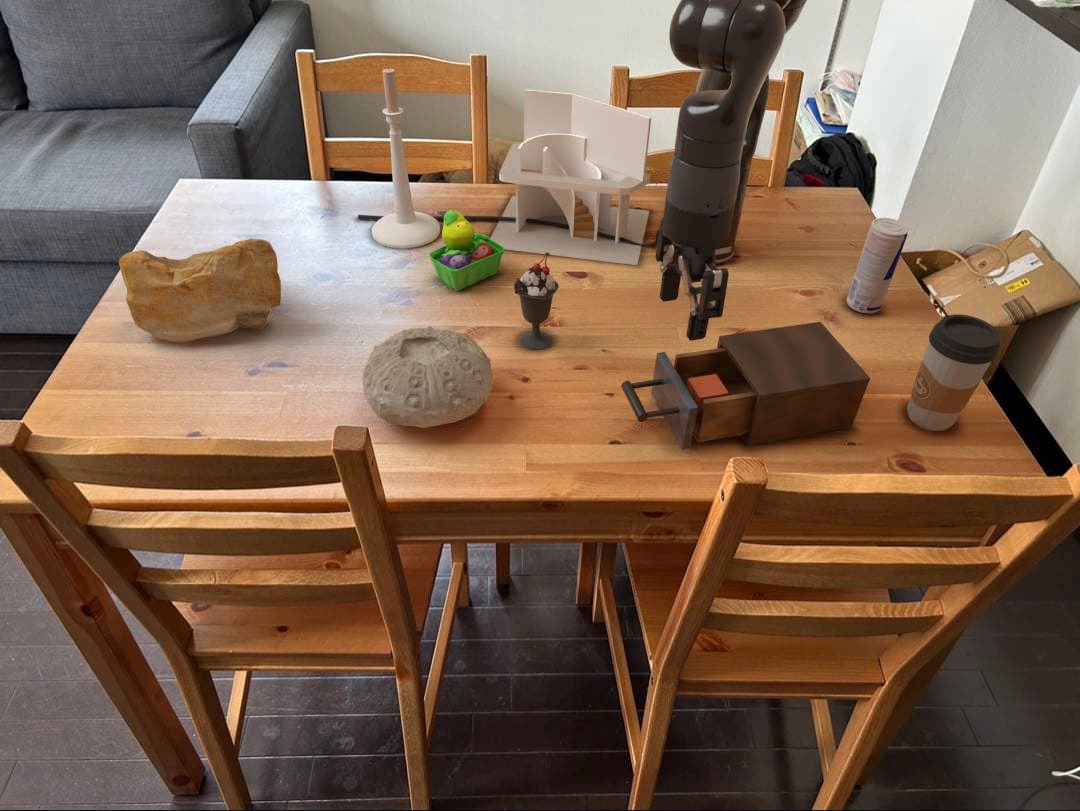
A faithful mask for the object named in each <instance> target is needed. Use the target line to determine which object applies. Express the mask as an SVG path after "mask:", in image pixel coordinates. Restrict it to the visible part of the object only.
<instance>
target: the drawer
mask: <svg viewBox="0 0 1080 811" xmlns="http://www.w3.org/2000/svg"><path fill="white" fill-rule="evenodd" d="M673 362H674V363H672V361H671V360H670V358H669V356H668V355H667V353H666V351H661V352H657V353H656V357H655V363H654V370H653V378H652V379H650V380H644V381H637V382H631V381H629V380H624V381H622V383H621V384H620V387H621V389H622V391H623V393H624V395H625V397H626V399H627V401H628V403H629V405H630V407H631V409H632V411H633V413H634V416H635V417H636V419H637V421H638V422H639V423H644V422H646V421H648V419H651V418H656V417H663V418H664V420H665V422H666V424H667V426H668V428H669V430H670V431H671V433H672V435H673V437H674V439H675V440H676V442H677V444H678V446H679V448H680V450H681V451H686V450H691V445H692V441H693V437H694V438H695V440H696V442H697V443H702V442H708V441H713V440H719V439H725V438H731V437H732V438H733V437H737V436H738V437H739V436H740V435H743V434H748V431H749V427H750V423H751V419H752V415H753V411H754V408H755V404H756V400H757V397H758V396H757V395H756V394H755V392H754V391H753V389H752V388H751V386H750V385H749V383H748V382H747V381H746V379H745V378H744V376H743V375H742V373H741V372H740V371H739V369H738V368H737V366H736V365H735V363H734V362H733V360H732V359H731V358H730V356H729V355H728V353H727V352H726V350H725V349H724V348H717V347H716V348H711V349H705V350H704V349H703V350H697V351H690V352H684V353H677V354H675V356H674V361H673ZM713 374H717V376H718V377H719V379H720V380H721V382H722V383H723V385H724V386H725V388H726V389H727V391H728V392H729V395H728V396H723V397H717V398H710V399H704V400H703V404H702V409H701V414H700V419H699V420H698V421H696V416H697V411H698V406H697V405H696V403H695V401H694V400H693V398H692V396H691V395H690V393H689V391H688V390H687V388H686V386H687V381H688V378H694V377H700V376H707V375H713ZM648 387H651V390H650V393H651V397H652V398H653V400H654V402H655V403H656V405H657V407H658V409H657V410H656V409H655V410H650V411H649V410H648V411H647V410H646V409H645V407H644V405H643V403H642V401H641V399H640V397H639V395H638V394H637V392H636V389H641V388H642V389H643V388H648Z"/></svg>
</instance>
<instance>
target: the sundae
mask: <svg viewBox="0 0 1080 811" xmlns="http://www.w3.org/2000/svg"><path fill="white" fill-rule="evenodd" d="M549 254H550V253H545V254H544V256H543V258H542V259H541V260H540V261H539V262H538V263H537V262H535V263H533V265H532V267H529V268H528V269H526V270H525V272H524V273H523V274H522V276H520V277H518V276H515V279H516V280H515V281H514V283H513V290H514V294H515V295H518V297H519V300H520V301H519V302H520V307H521V312H522V316H523V318H524V320H525V321H527V322H528V323H529V324H531V330H529V331H526V332H524V333H522V335H521V336H520V338H519V342H520V345H521V346H523V347H524V348H526V349H528V350H532V351H540V350H543V349H546V348H547V347H549V346H550V345H551V343H552V337H551V335H550V334H549V333H547V332H545V331H541V329H540V325H541V324H543V323H544V322H545V321H546V320H548V318H549V316H550V313H551V308H552V302H553V298H554V295H555V294H556V292H557V291H558V289H559V287H560V286H559V283H558V282H557V281H556V280H555V278H554V276H553V275H552V274H551V273H550V272H551V269H550V267H548V266H547V259H548V256H550V255H549ZM544 259H545V262H544V266H542V265H541V263H542V262H543V261H544ZM541 266H542V267H541Z"/></svg>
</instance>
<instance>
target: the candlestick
mask: <svg viewBox="0 0 1080 811" xmlns="http://www.w3.org/2000/svg"><path fill="white" fill-rule="evenodd" d="M395 73H396V70H395V69H394V68H389V66H388V67H387V68H384V69H382V79H383V88H384V97H385V104H386V108H383V109H382V113H383V114H384V115H385V121H386V123H388V125H389V131H388V134H389V143H390V144H389V146H390V157H391V174H392V190H393V191H392V192H393V210H394V212H391V213H389V214H385V215H383V216H384V217H382V218H381V219H379V220H377V221H376V222H375V223H374V224H373V226H372V228H371V235H372V238H373V240H374V241H375V242H376V243H378V244H379V245H381V246H384V247H388V248H391V249H403V250H404V249H405V250H406V249H414V248H415V249H416V248H420V247H423V246H427V245H428V244H431V243H432V242H433V241H435V240H437V238H439V236H440V233H441V224H440V222H439V220H436V219H435V218H433V217H432V215H430V214H428V213H425V212H422V211H417V210H414V205H413V199H412V192H411V187H410V186H411V185H410V180H409V174H408V167H407V161H406V154H405V148H404V143H403V142H404V141H403V135H402V133H403V132H402V130H401V129H400V126H401V122H402V120H403V118H402V114H403V112H404V109H403V108H402V107H399V100H398V99H399V98H398V90H397V81H396V74H395Z"/></svg>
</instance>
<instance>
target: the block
mask: <svg viewBox="0 0 1080 811" xmlns="http://www.w3.org/2000/svg"><path fill="white" fill-rule="evenodd" d="M686 388H687V390H688V391H689V393H690V395H691V396H692V398H693V400H694V401H695V403H696V405H697V406H698V411H697V416H696V421H698V420H699V419H700V414H701V409H702V404H703V400H704V399H710V398H717V397H723V396H728V395H729V392H728V391H727V389H726V388H725V386H724V385H723V383H722V382H721V380H720V379H719V377H718V376H717V374H713V375H707V376H700V377H694V378H688V381H687V386H686Z"/></svg>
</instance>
